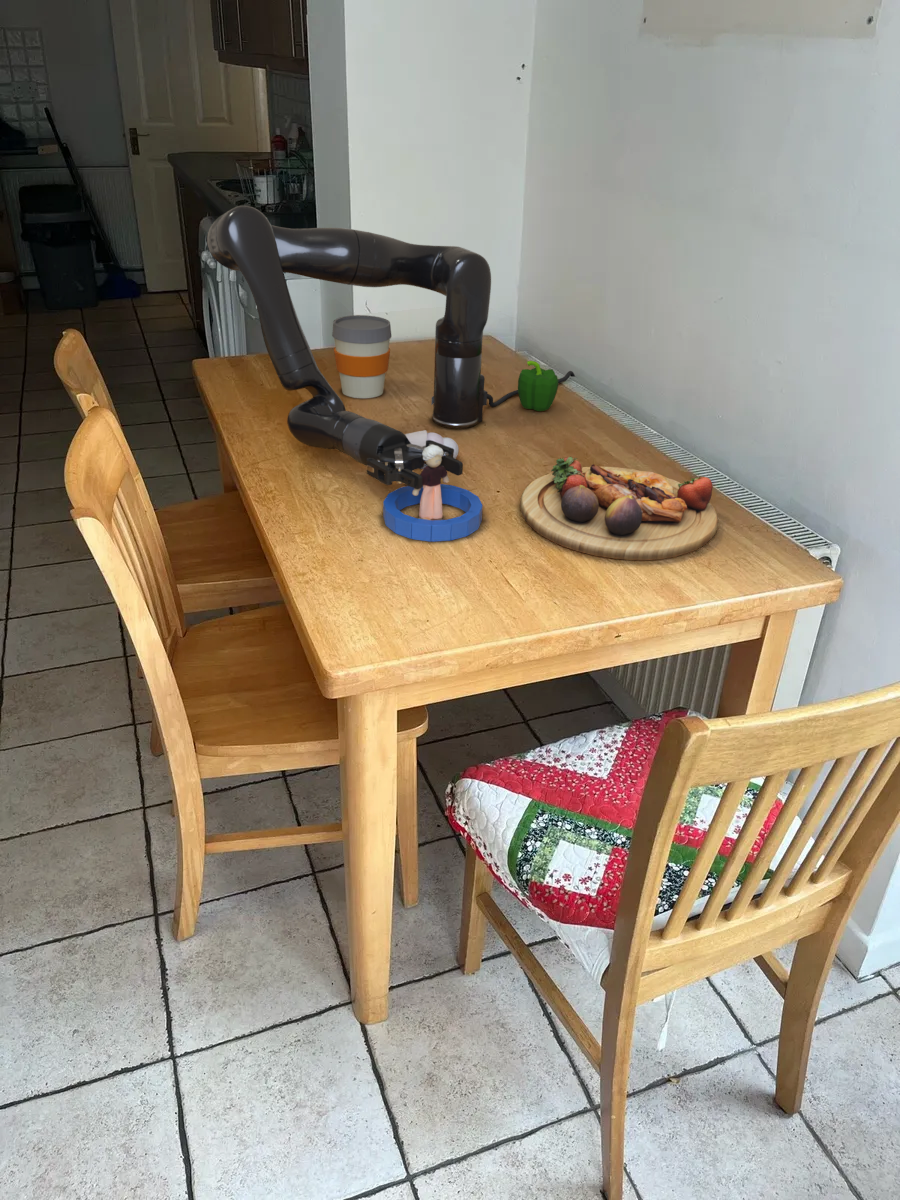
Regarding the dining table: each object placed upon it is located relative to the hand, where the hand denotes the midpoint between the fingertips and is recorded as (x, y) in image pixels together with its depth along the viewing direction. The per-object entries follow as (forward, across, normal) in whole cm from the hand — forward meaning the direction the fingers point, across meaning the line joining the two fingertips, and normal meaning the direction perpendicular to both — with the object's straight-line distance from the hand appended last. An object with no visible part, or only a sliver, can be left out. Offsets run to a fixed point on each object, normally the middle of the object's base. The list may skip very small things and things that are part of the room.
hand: (441, 476), depth 141 cm
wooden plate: (+17, +24, +8) cm, 30 cm away
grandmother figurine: (-2, 0, +8) cm, 8 cm away
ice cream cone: (-20, +13, +8) cm, 26 cm away
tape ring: (-2, 0, +8) cm, 8 cm away
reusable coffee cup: (-58, +30, +8) cm, 66 cm away
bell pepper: (-28, +53, +8) cm, 61 cm away
